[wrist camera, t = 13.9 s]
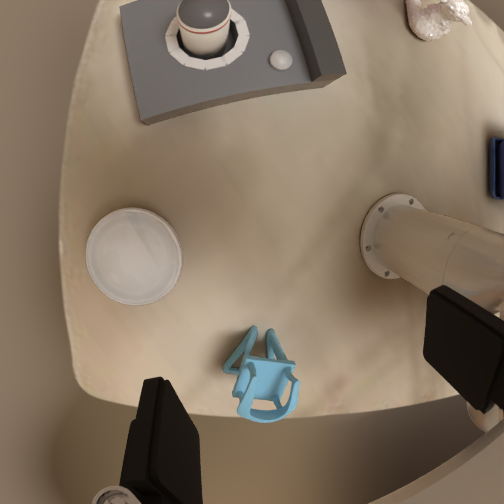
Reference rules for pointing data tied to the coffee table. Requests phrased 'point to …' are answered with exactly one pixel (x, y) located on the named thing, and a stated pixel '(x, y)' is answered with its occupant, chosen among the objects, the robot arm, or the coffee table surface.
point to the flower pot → (496, 168)
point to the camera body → (228, 55)
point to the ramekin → (134, 256)
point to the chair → (262, 378)
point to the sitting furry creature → (436, 17)
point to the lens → (204, 27)
